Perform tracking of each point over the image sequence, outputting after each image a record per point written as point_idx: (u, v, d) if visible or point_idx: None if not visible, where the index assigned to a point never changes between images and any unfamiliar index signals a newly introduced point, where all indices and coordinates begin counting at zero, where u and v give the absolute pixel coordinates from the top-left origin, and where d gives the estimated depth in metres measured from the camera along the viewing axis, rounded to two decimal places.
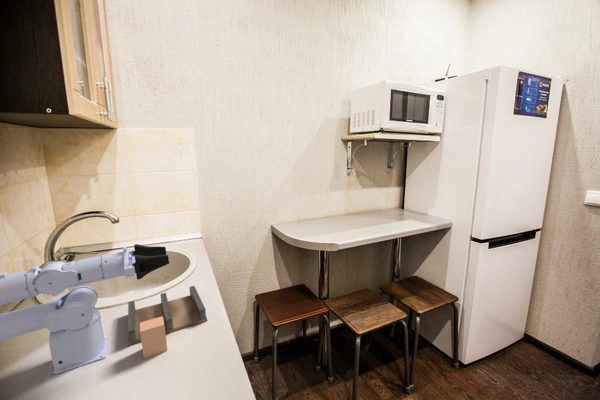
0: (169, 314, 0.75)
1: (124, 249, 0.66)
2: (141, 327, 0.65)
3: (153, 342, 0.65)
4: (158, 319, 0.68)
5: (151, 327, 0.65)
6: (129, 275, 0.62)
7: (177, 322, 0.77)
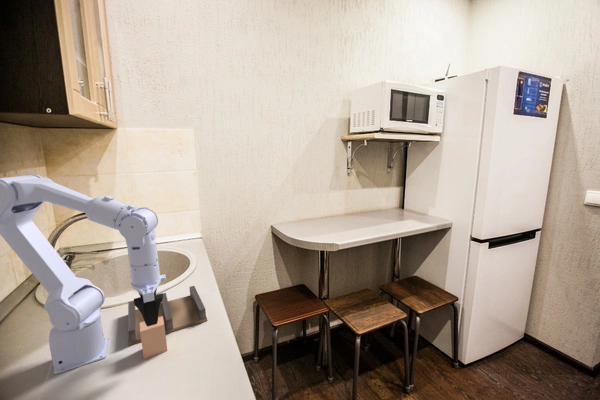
0: (169, 314, 0.75)
1: (164, 278, 0.66)
2: (141, 327, 0.65)
3: (153, 342, 0.65)
4: (158, 319, 0.68)
5: (151, 327, 0.65)
6: (145, 297, 0.58)
7: (177, 322, 0.77)
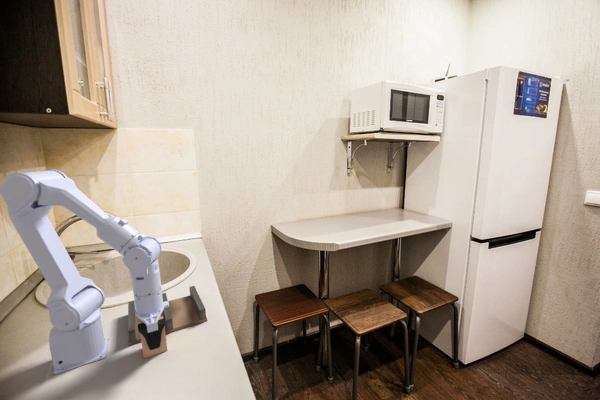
0: (169, 314, 0.75)
1: (167, 305, 0.67)
2: None
3: None
4: None
5: None
6: (148, 328, 0.59)
7: (177, 322, 0.77)
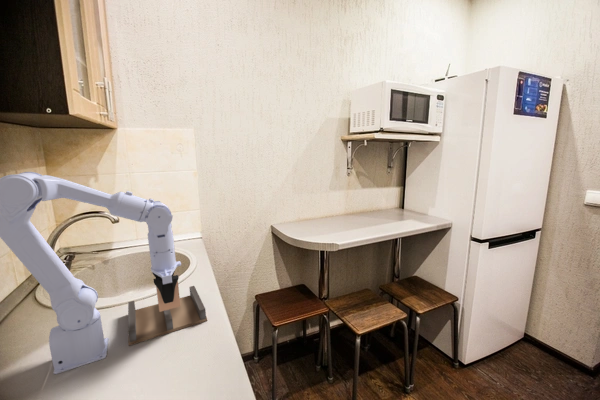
0: (169, 314, 0.75)
1: (180, 264, 0.73)
2: None
3: None
4: None
5: None
6: (164, 280, 0.66)
7: (177, 322, 0.77)
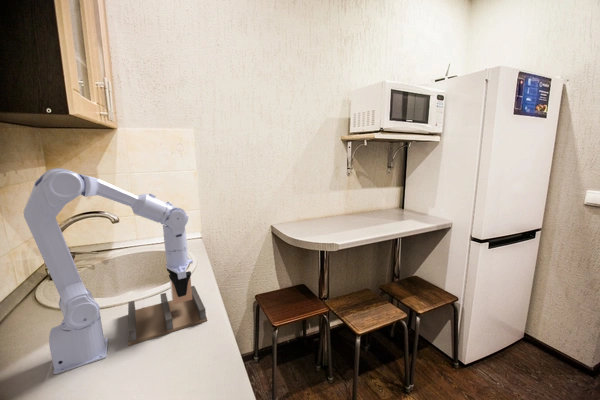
0: (169, 314, 0.75)
1: (192, 261, 0.81)
2: None
3: None
4: None
5: None
6: (179, 275, 0.74)
7: (177, 322, 0.77)
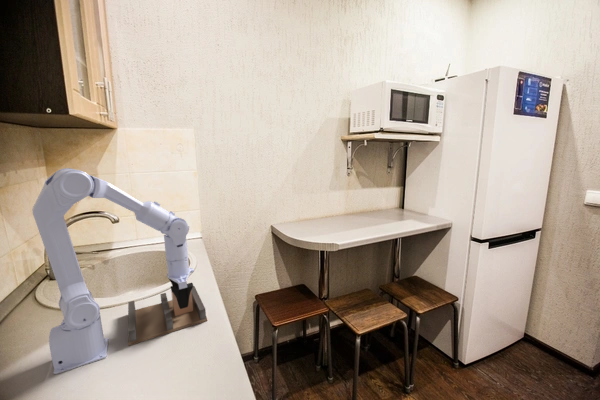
0: (169, 314, 0.75)
1: (192, 271, 0.82)
2: None
3: None
4: None
5: None
6: (180, 285, 0.74)
7: (177, 322, 0.77)
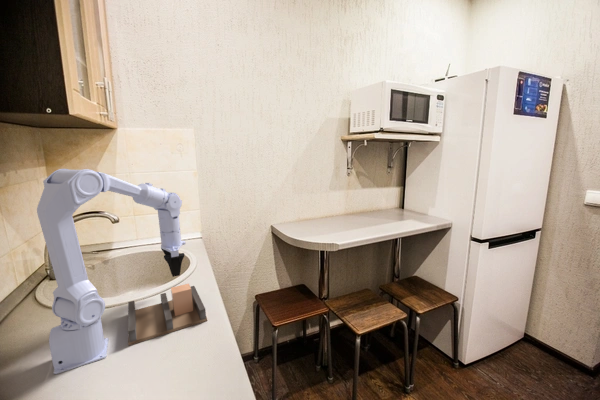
0: (169, 314, 0.75)
1: (184, 243, 0.89)
2: (173, 290, 0.80)
3: (183, 303, 0.80)
4: (185, 285, 0.83)
5: (181, 290, 0.80)
6: (172, 253, 0.81)
7: (177, 322, 0.77)
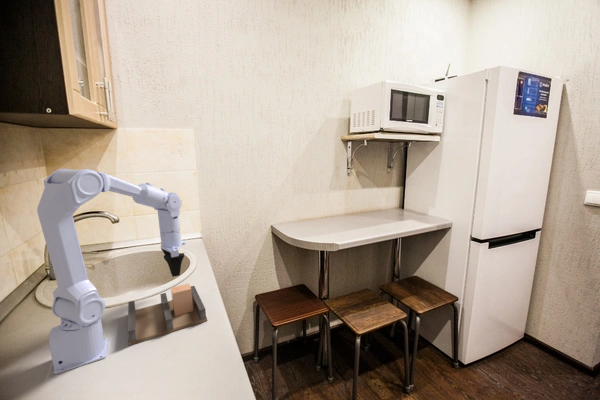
0: (169, 314, 0.75)
1: (184, 243, 0.89)
2: (173, 290, 0.80)
3: (183, 303, 0.80)
4: (185, 285, 0.83)
5: (181, 290, 0.80)
6: (172, 253, 0.81)
7: (177, 322, 0.77)
